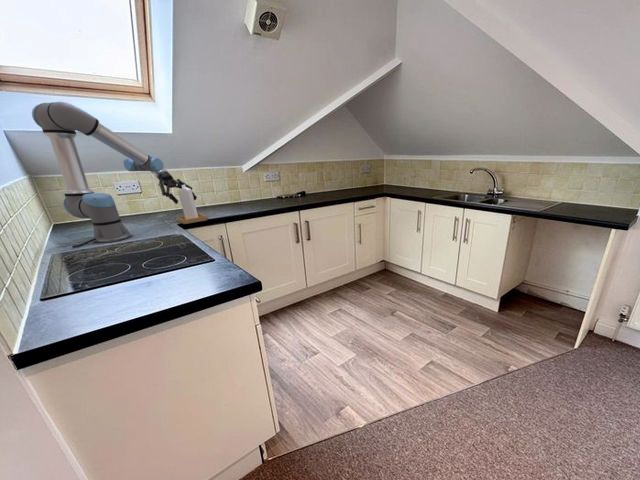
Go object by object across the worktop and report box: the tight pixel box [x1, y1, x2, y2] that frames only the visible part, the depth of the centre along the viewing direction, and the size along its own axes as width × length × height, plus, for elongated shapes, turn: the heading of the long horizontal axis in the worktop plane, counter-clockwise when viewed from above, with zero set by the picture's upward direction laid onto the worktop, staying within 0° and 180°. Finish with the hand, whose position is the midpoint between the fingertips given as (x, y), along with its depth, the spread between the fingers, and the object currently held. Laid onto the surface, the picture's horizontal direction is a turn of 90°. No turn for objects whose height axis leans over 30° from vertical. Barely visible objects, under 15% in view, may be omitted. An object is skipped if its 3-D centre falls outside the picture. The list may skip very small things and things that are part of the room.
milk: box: [177, 183, 199, 219], centre depth 190 cm, size 6×6×22 cm
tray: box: [176, 212, 208, 225], centre depth 194 cm, size 14×13×3 cm
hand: (186, 200), depth 190 cm, fingers open, 13 cm apart
